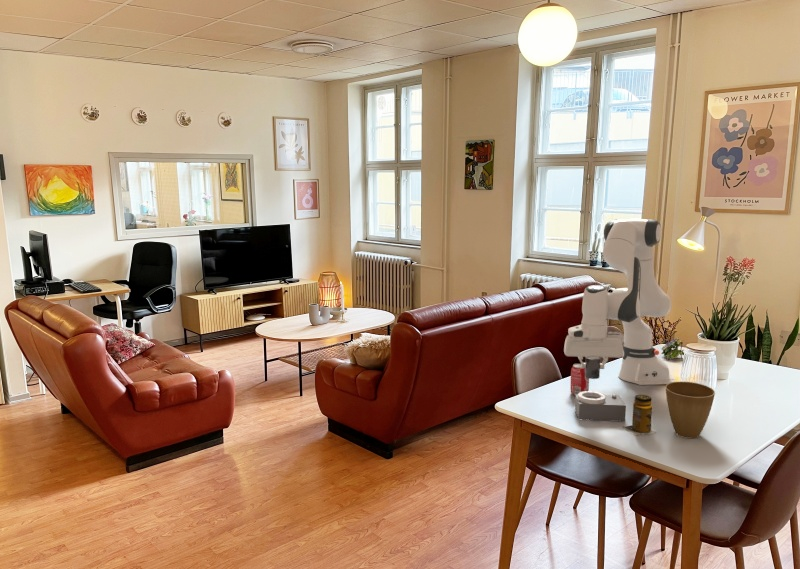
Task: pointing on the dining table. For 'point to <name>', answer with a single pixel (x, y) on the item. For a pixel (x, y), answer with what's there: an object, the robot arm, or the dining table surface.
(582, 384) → the soda can
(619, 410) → the camera body
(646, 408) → the condiment
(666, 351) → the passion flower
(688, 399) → the plant pot
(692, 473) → the dining table surface
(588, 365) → the lens
